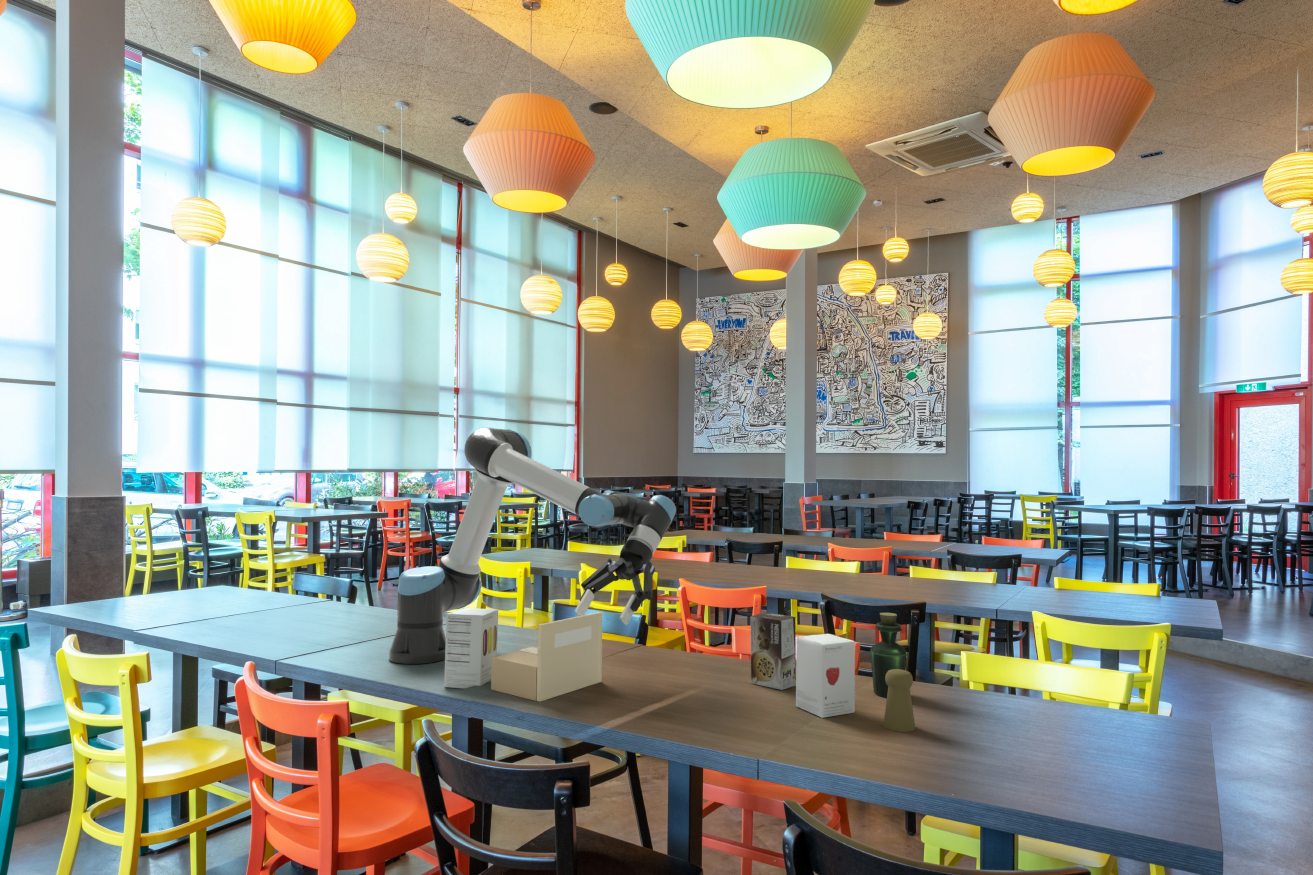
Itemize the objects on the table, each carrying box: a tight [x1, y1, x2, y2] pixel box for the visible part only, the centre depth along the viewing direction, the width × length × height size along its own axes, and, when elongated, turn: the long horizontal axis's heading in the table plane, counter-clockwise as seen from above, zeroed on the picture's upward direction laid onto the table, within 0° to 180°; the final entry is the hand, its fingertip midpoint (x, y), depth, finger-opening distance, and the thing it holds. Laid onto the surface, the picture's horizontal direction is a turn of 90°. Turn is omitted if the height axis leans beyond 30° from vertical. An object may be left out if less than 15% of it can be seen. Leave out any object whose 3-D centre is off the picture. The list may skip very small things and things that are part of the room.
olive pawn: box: [883, 669, 916, 733], centre depth 150 cm, size 6×6×11 cm
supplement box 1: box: [443, 607, 499, 689], centre depth 178 cm, size 10×9×17 cm
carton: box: [490, 645, 538, 702], centre depth 174 cm, size 14×20×8 cm
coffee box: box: [750, 612, 797, 691], centre depth 180 cm, size 9×6×16 cm
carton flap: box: [537, 611, 603, 703], centre depth 169 cm, size 1×20×16 cm, turn 144°
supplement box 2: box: [795, 633, 856, 719], centre depth 161 cm, size 9×9×15 cm
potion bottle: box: [869, 612, 908, 698], centre depth 173 cm, size 8×8×18 cm
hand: (600, 617), depth 176 cm, fingers open, 13 cm apart
